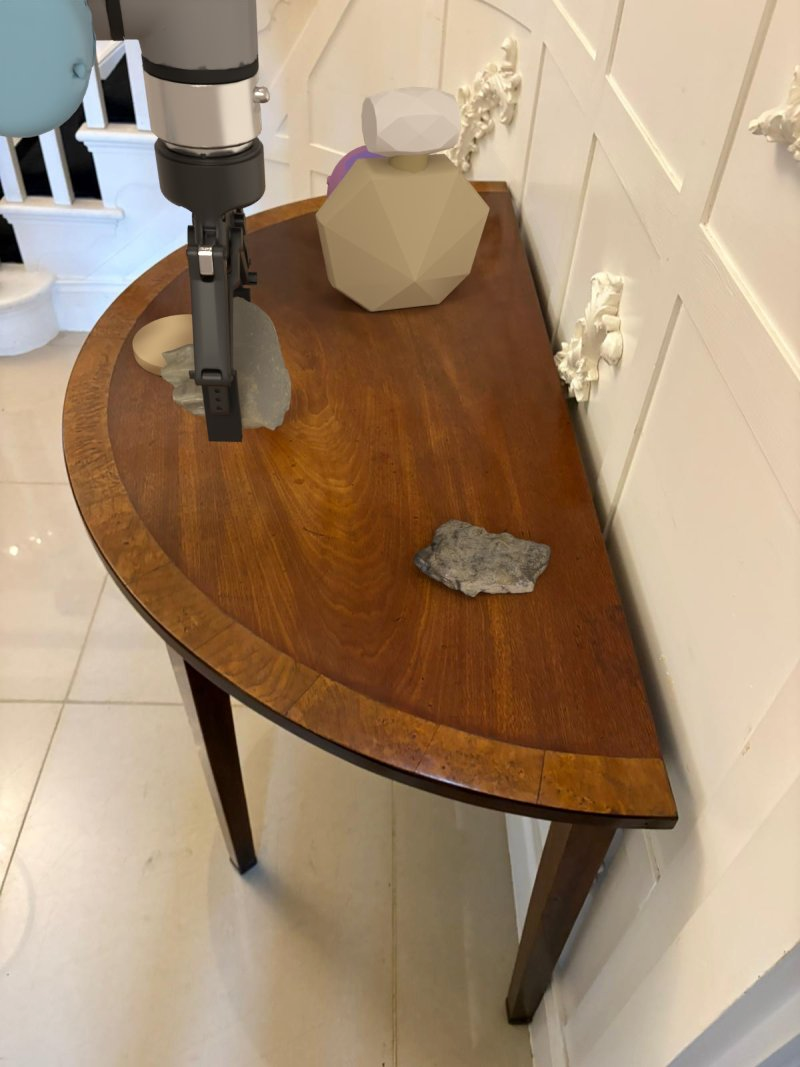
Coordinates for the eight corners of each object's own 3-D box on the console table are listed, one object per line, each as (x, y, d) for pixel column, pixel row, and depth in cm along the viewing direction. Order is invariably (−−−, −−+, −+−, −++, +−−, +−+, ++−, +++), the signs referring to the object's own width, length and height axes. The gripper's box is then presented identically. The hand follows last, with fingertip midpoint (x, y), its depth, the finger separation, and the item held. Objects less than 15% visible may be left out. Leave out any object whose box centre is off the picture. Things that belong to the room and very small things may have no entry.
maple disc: (125, 377, 97) (123, 367, 96) (143, 322, 106) (141, 312, 105) (232, 379, 98) (231, 369, 97) (241, 325, 107) (240, 315, 106)
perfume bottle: (489, 310, 114) (523, 99, 94) (329, 328, 108) (328, 106, 88) (459, 271, 122) (484, 68, 102) (308, 286, 116) (303, 74, 96)
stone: (549, 552, 80) (555, 532, 78) (539, 615, 74) (545, 596, 72) (415, 523, 82) (417, 503, 80) (395, 583, 76) (396, 563, 74)
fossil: (250, 400, 78) (148, 377, 73) (284, 300, 73) (178, 268, 68) (288, 471, 67) (171, 449, 62) (330, 359, 63) (208, 325, 58)
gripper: (248, 213, 46) (266, 485, 62) (273, 86, 64) (283, 323, 79) (118, 207, 46) (169, 484, 61) (179, 80, 63) (206, 320, 78)
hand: (233, 393), depth 70 cm, fingers closed on fossil, 12 cm apart
